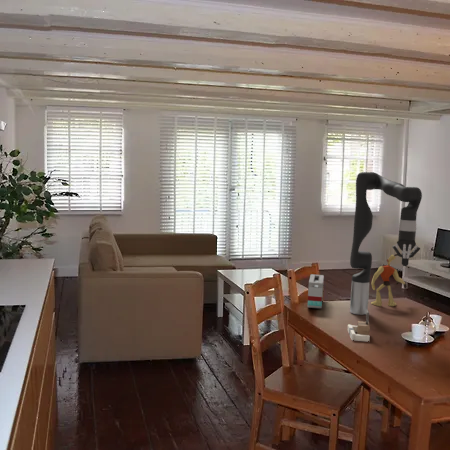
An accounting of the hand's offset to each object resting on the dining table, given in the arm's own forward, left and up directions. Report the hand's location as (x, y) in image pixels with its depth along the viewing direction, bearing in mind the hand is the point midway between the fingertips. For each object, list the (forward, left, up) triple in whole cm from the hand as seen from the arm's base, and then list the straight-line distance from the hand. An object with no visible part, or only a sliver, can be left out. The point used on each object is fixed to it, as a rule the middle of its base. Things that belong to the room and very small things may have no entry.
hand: (404, 265), depth 255 cm
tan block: (+11, -19, -32) cm, 39 cm away
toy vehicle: (-45, -37, -32) cm, 67 cm away
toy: (-52, +5, -32) cm, 61 cm away
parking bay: (+11, -21, -32) cm, 40 cm away
